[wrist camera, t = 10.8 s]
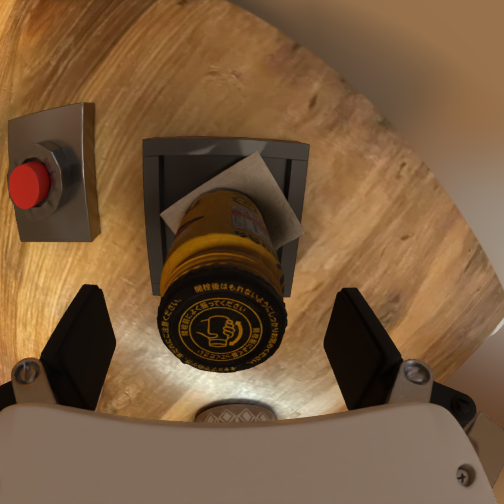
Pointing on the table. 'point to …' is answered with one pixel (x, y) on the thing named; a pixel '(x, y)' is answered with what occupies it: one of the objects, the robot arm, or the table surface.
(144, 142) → the tray
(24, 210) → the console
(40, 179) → the button
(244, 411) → the planter
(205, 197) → the condiment
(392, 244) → the table surface
